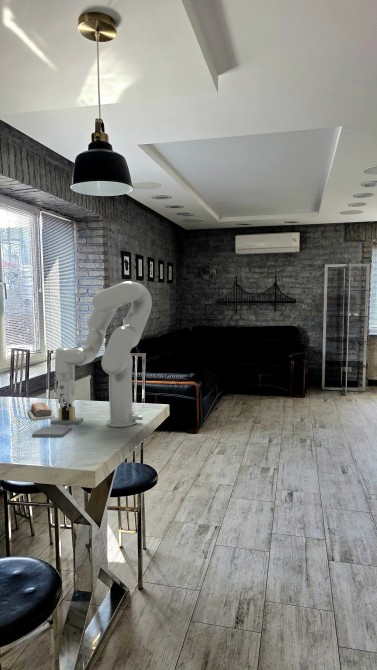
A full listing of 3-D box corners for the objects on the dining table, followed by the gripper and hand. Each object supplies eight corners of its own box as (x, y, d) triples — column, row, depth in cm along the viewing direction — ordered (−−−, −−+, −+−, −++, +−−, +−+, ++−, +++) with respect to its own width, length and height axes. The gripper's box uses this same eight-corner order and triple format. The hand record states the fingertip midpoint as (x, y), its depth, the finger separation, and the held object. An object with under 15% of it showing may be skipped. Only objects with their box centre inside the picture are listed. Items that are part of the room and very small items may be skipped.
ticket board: (71, 429, 177) (71, 426, 177) (62, 437, 167) (62, 433, 167) (42, 429, 178) (42, 426, 178) (32, 437, 168) (32, 433, 168)
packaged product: (26, 403, 209) (48, 401, 213) (27, 413, 209) (48, 410, 213) (31, 411, 193) (54, 408, 197) (31, 421, 193) (55, 419, 197)
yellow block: (83, 420, 192) (82, 406, 191) (78, 423, 186) (78, 409, 185) (56, 420, 193) (56, 406, 192) (51, 423, 187) (50, 409, 186)
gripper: (67, 379, 180) (69, 423, 181) (80, 373, 196) (82, 414, 197) (49, 379, 180) (51, 423, 181) (64, 373, 196) (65, 414, 198)
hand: (67, 418), depth 189 cm, fingers closed on yellow block, 3 cm apart
